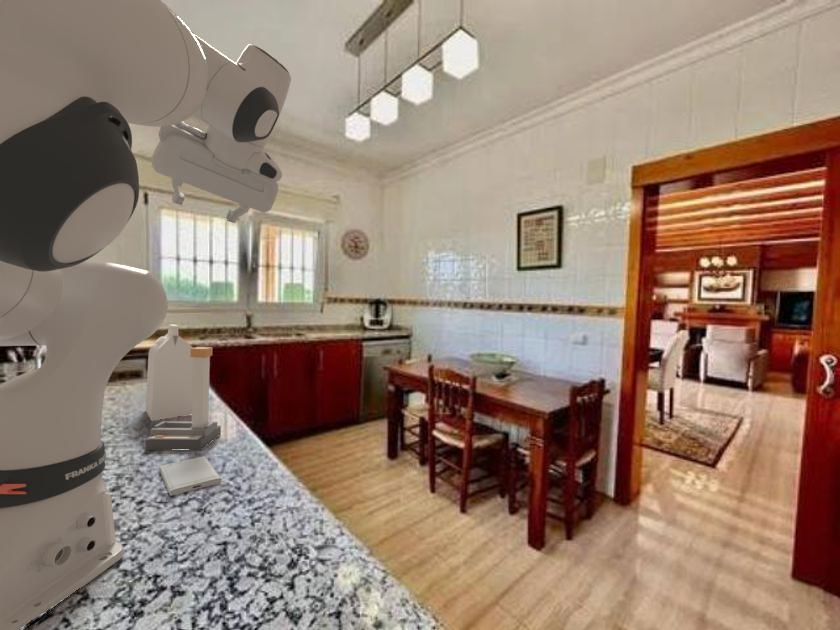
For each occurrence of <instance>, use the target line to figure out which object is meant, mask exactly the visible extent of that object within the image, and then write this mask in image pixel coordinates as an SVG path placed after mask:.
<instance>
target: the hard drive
mask: <svg viewBox="0 0 840 630" xmlns="http://www.w3.org/2000/svg"><path fill="white" fill-rule="evenodd" d="M159 473H160V475H161V478H162V479H163V483H164V485H165V487H166V489H167V491H168V493H169V496H170V497H171V496H175V495H179V494H183V493H184V494H185V493H187V492H191V491H194V490H199V489H202V488H207V487H210V486H213V485H217V484H222V477H221V476H220V475H219V474H218V472H217V470H216V469H215V468H214V466H213V465H212V464H211V463H210V460H208V459H207V457H206V456H199V457H194V458H190V459H185V460H182V461H176V462H172V463H166V464H163V465H161V466H159Z"/></svg>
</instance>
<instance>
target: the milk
mask: <svg viewBox="0 0 840 630" xmlns="http://www.w3.org/2000/svg"><path fill="white" fill-rule="evenodd" d="M191 348H194V347H193V346H192V345H191V344H189V343H188V342H187V341H185V340H184V339H183V338H182V337H181V336H180V335H179V325H178V324H175V323H174V324H168V329H167V333H165V335H164V336H163V335H162V336H160V337H158V338H157V339H156V340H155V341H154V344H153V345H152V346H151V347H150V348H149V351H148V357H147V358H148V359H147V373H146V375H147V378H146V391H145V392H146V394H145V410H146V411H145V410H144V411H145V413H146V412H147V413H146V414H147V415H148V417H150V418H149V419H150V421H151V422H155V421H161V420H160V419H162V420H166V419H165V418H168V419H172V418H171V417H175V418H178V417H177V416H182V417H184V416H183V415H189V416H191V415H190V414H192V389H193V357H190V353H191ZM154 420H155V421H154Z"/></svg>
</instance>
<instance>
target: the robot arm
mask: <svg viewBox="0 0 840 630" xmlns="http://www.w3.org/2000/svg"><path fill="white" fill-rule="evenodd" d="M291 80H292V76H291V74H290V73H289V70H288V69H287V68H286V67H285V66H284V65H283V64H282V63H281V62H279V61H278V59H276V58H275V57H274V56H272V55H271V54H270V53H269V52H267V51H266V50H264V49H263V48H261V47H259V46H258V45H255V44H248V45H247V46H245V48H244V49H243V51H242V52H241V54H240V56H239V58H238V59H237V61H236V62H234V61H233V60H231V59H229V58H228V57H227V56H226V55H224V54H223V53H222V52H220V51H219V50H217V49H216V48H214V47H212V46H211V45H210V44H209V43H207V42H206V41H204V40H203V39H202V38H201V37H198V36H197V35H196V34H195V33H194V32H193V31H192V30H190V28H189V27H188V26H187V24H185V22H184V21H183V20H182V19H181V18H180V17H179V16H178V15H177V14H176V12H174V11H173V10H172V9H171V8H170V7H169V6H168V5H167V4H165V2H163V1H162V0H0V347H13V346H14V347H16V346H17V347H21V346H22V347H25V346H31V347H32V346H37V347H38V346H44V347H46V353H45V358H44V360H43V362H42V364H41V366H40V367H39V368H38V367H37V368H35V369H34V370H33V369H32V370H31V371H27V372H24V373H23V374H20V375H18V376H15V377H13V378H11V379H8V380H7V381H5V382H2V383H1V384H0V630H19V629H20V628H21V627H23V626H24V625H26V624H27V623H29V622H30V621H31V620H33V619H35V618H36V617H37V616H39V615H40V614H42V613H44V612H45V611H47V610H48V609H49V608H51V607H52V606H54V605H55V604H57V603H58V602H60V601H61V600H63V599H64V598H66V597H67V596H69V595H70V594H72V593H73V592H75V591H76V590H78V589H79V588H80V589H82V588H83V587H85V586H86V585H87V584H88V583H90V582H91V581H92V580H94V579H95V578H97V577H98V576H99V575H100V574H102V573H103V572H105V571H107V570H108V568H110V567H111V566H113V565H114V564H116V563H117V562H118V561H120V560H121V559H122V558H123V556H124V553H125V552H124V548H123V545H122V544H121V543H120V542H118V541H117V540H116V531H115V521H114V512H113V511H114V510H113V503H112V496H111V493H110V491H109V489H108V488H107V485H106V483H105V481H104V479H103V471H104V470H105V468H106V458H107V451H106V448H105V443H104V441H103V440H102V415H103V405H104V398H105V393H106V389H107V385H108V383H109V380H110V377H111V376H112V373H113V372H114V370H115V368H116V367H117V366H118V364H119V363H120V361H122V359H123V358H124V357H125V356H126V355H127V354H128V353H129V352H130V351H131V350H133V349H134V348H135V347H136V346H138V345H139V344H140V343H142V342H144V341H145V340H147V339H148V338H150V337H151V336H153V335H154V334H155V332H157V331H158V330H159V329H160V327H161V326H162V324H163V323H164V320H165V319H166V317H167V313H168V296H167V292H166V291H165V287H164V286H163V284H162V282H161V281H160V280H159V279H158V278H157V277H156V276H155V275H154V274H153V273H152V272H151V271H150V270H147V269H146V270H145V269H142V268H141V269H140V268H137V267H134V266H133V267H132V266H129V265H124V264H118V263H113V262H107V261H93V260H92V261H89V259H91V258H92V257H94V256H96V255H97V254H98V253H100V252H102V250H103V249H105V248H106V247H107V246H109V245H110V244H111V243H113V242H114V240H116V239H117V237H118V236H120V234H121V233H122V231H123V230H124V229H125V227H126V225H127V224H128V222H129V221H130V220H131V218H132V216H133V214H134V212H135V211H136V208H137V205H138V201H139V198H140V178H139V170H138V163H137V160H136V157H135V155H134V153H133V150H132V149H133V148H132V146H133V135H132V130H131V126H130V125H129V124H131V125H132V124H133V125H136V126H137V125H138V126H144V127H155V128H156V127H158V128H159V127H160V129H159V132H158V137H159V142H158V144H157V145H156V147H155V148H154V151H153V154H152V156H151V161H150V162H151V166H152V168H153V169H154V171H155V172H156V173H158V174H160V175H163V176H166V177H167V178H169V179H171V185H172V188H173V194H172V198H171V202H172V203H174V204H177V205H180V206H183V205H184V204H183V203H184V201H185V198H186V197H185V193H183V192H181V191H180V189H179V188H182V186H183V184H186V185H189V186H192V187H194V188H197V189H200V190H202V191H205V192H207V193H210V194H213V195H215V196H218V197H221V198H223V199H226V200H229V201H231V202H234V203H237V204H239V207H237V208H236V209H235V210H231V209H229V210H228V212H227V214H226V218H225V219H226V221H227V222H229V223H232V224H236V223H237V222H238V221H237V220H238V219H239V217H241V216H243V215H245V214H246V213H248V212H249V211H250V209H252V210H255V211H258V212H261V213H263V214H266V213H268V212H269V211H271V210H272V208H273V205H274V203H275V201H276V199H277V195H278V193H279V185H278V182H279V181H281V179H282V177H283V173H282V170H281V168H280V166H279V165H278V163H277V162H276V161H275V159H274V158H273V157H272V156H271V155H270V154H269V153H267V152H266V151H265V150H264V149H265V147H266V144H267V139H268V137H269V136H270V135H271V134H272V132H273V130H274V128H275V126H276V124H277V121H278V119H279V117H280V115H281V112H282V110H283V107H284V104H285V101H286V99H287V96H288V93H289V89H290V86H291V82H292V81H291ZM192 116H194V117H195V118H197V119H198V120H200V121H201V122H203V123H204V124H206V125H207V126H208V128H207V129H206V132H205V131H202V130H200V129H198V128H195V127H193V126H190V125H188V124H186V123H185V122H186V120H188V119H190V118H191V117H192ZM184 121H185V122H184ZM81 587H82V588H81ZM80 589H79V590H80ZM79 590H78V591H79ZM76 592H77V591H76ZM76 592H75V593H76ZM72 595H73V594H72ZM69 597H70V596H69Z"/></svg>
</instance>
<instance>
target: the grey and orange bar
mask: <svg viewBox="0 0 840 630" xmlns="http://www.w3.org/2000/svg"><path fill="white" fill-rule="evenodd" d="M212 356H213V347H211V346H210V347H209V346H207V347H206V346H196V347H193V348H191V353H190V357H193V389H192V415H191V422H192V427H191V428H204V427H205V426H206V425H208V422H210V421H209V420H210V418H209V411H210V410H209V409H210V370H211V369H210V367H211V362H210V361H211V357H212Z"/></svg>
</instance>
